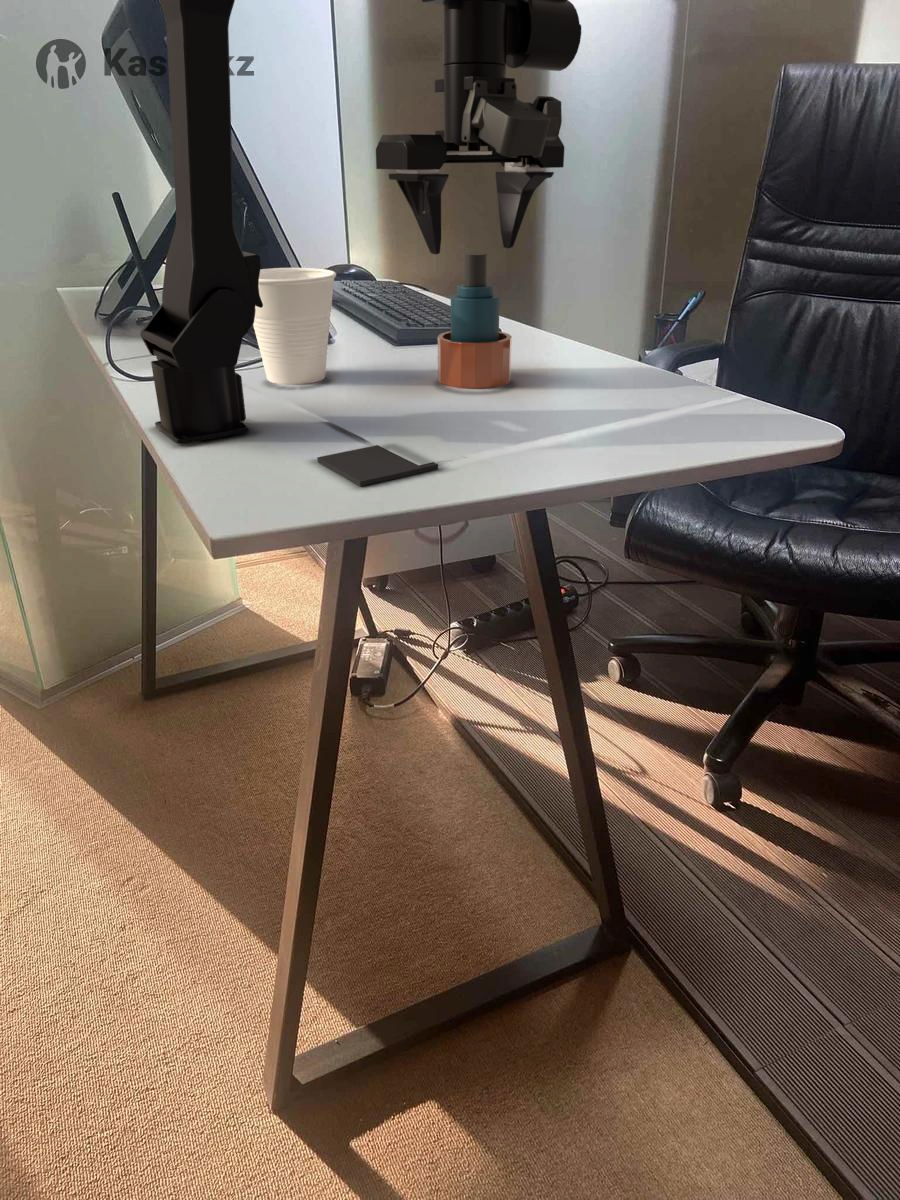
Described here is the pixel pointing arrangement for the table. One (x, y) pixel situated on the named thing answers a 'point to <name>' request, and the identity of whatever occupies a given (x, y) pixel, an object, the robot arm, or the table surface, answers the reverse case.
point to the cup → (294, 323)
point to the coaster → (372, 465)
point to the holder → (474, 362)
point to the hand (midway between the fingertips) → (472, 250)
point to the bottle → (475, 305)
